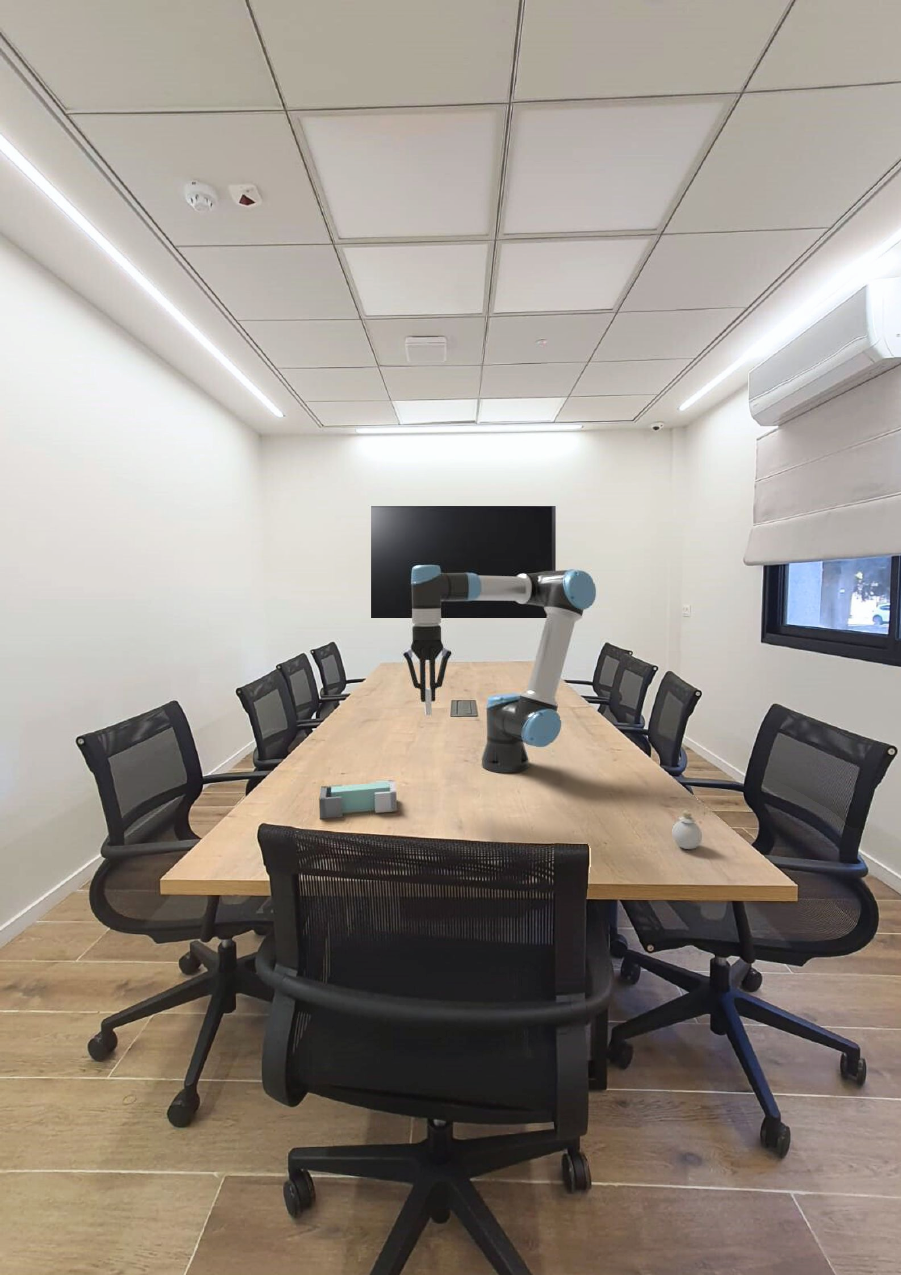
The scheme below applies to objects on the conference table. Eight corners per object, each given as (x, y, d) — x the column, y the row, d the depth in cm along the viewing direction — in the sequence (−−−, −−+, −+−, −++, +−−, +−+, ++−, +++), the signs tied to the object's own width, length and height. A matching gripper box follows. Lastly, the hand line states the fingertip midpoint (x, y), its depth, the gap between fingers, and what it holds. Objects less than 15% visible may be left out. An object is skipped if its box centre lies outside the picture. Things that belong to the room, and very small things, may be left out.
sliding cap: (394, 797, 148) (393, 780, 148) (396, 811, 139) (396, 792, 139) (374, 799, 147) (373, 781, 147) (375, 813, 138) (374, 794, 138)
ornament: (668, 840, 122) (669, 798, 121) (702, 841, 122) (703, 798, 121) (676, 853, 116) (678, 809, 115) (712, 855, 116) (714, 810, 115)
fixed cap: (342, 802, 146) (342, 784, 145) (342, 816, 137) (341, 797, 137) (322, 804, 145) (321, 786, 144) (319, 818, 136) (319, 799, 136)
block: (388, 803, 146) (388, 781, 145) (390, 809, 142) (389, 787, 141) (332, 808, 143) (331, 786, 142) (331, 815, 139) (331, 792, 138)
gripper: (448, 623, 145) (449, 709, 148) (400, 624, 143) (402, 711, 146) (453, 625, 138) (454, 715, 140) (402, 626, 136) (404, 718, 138)
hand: (428, 713), depth 143 cm, fingers closed
